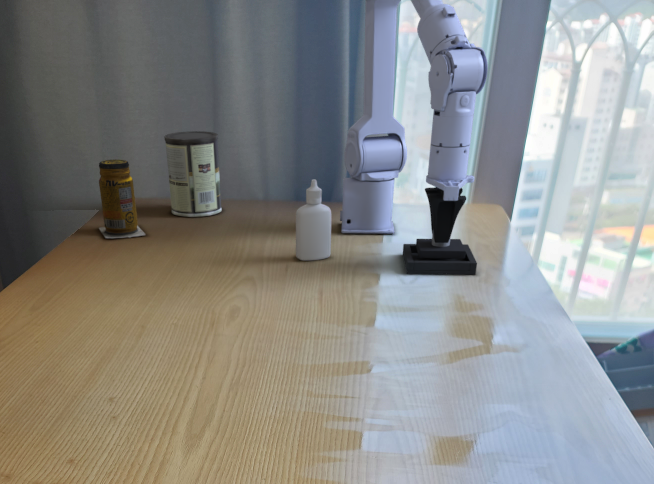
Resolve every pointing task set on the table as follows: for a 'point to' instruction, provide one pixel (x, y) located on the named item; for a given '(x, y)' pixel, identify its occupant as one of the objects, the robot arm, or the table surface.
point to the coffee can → (193, 173)
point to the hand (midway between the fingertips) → (440, 239)
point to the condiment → (118, 200)
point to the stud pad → (440, 249)
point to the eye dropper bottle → (313, 227)
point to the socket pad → (438, 263)
